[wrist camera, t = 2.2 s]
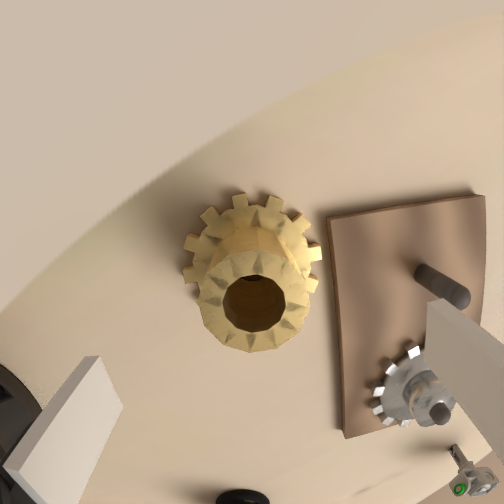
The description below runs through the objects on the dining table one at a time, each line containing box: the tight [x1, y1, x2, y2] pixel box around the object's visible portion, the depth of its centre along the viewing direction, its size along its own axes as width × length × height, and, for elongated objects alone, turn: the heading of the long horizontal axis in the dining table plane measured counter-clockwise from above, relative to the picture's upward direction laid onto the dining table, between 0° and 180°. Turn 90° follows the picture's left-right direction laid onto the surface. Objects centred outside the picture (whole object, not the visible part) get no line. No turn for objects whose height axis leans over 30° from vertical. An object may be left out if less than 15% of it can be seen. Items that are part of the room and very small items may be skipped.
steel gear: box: [369, 340, 456, 427], centre depth 26 cm, size 11×11×5 cm
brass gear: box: [182, 193, 322, 353], centre depth 22 cm, size 11×11×9 cm
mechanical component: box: [449, 444, 500, 498], centre depth 29 cm, size 3×10×10 cm, turn 66°
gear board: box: [326, 194, 486, 439], centre depth 24 cm, size 16×24×8 cm, turn 10°
